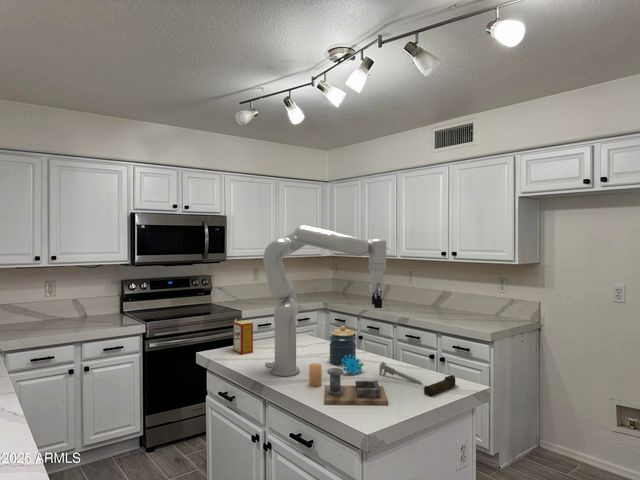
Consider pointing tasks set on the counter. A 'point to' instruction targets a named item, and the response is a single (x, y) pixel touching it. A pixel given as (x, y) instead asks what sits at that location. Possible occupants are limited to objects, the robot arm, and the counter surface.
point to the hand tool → (440, 385)
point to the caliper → (396, 373)
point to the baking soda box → (243, 337)
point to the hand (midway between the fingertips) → (376, 306)
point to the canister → (342, 345)
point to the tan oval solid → (315, 375)
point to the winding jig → (353, 391)
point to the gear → (351, 365)
